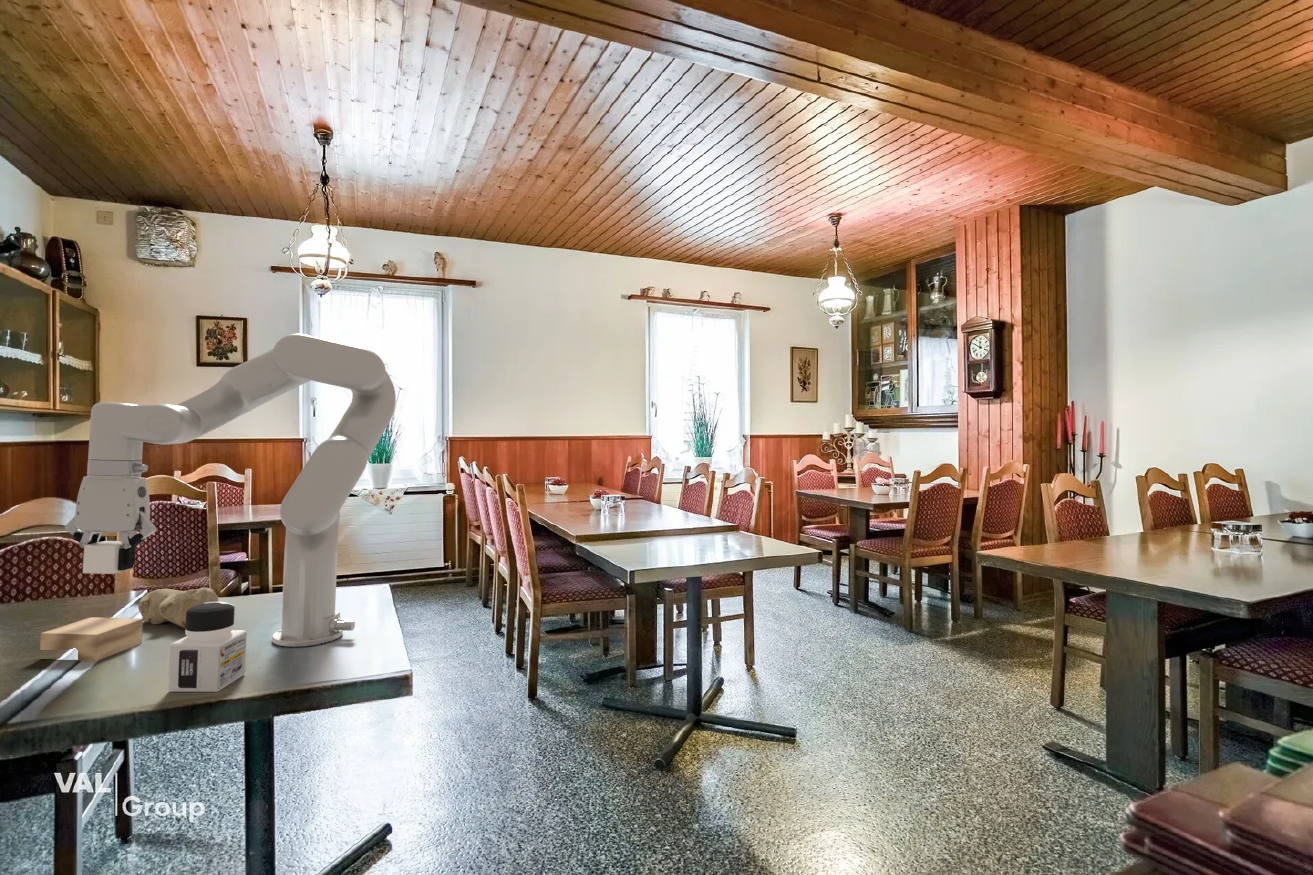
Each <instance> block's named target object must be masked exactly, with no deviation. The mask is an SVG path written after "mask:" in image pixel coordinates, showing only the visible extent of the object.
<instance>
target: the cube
mask: <svg viewBox="0 0 1313 875" xmlns="http://www.w3.org/2000/svg"><path fill="white" fill-rule="evenodd" d="M121 548H123V547H122V543H121V540H104V541H99V542H98V543H93V544H88V545H84V548H83V549H84V559H83V558H82V574H97V575H99V574H101V575H103V574H104V575H105V574H107V575H108V574H109V575H115V574H118V573H122V572H125V571H129V570H132V569H134V567H133V568H130V569H127V570H123V571H119V570H118V560H119V549H121Z"/></svg>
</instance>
